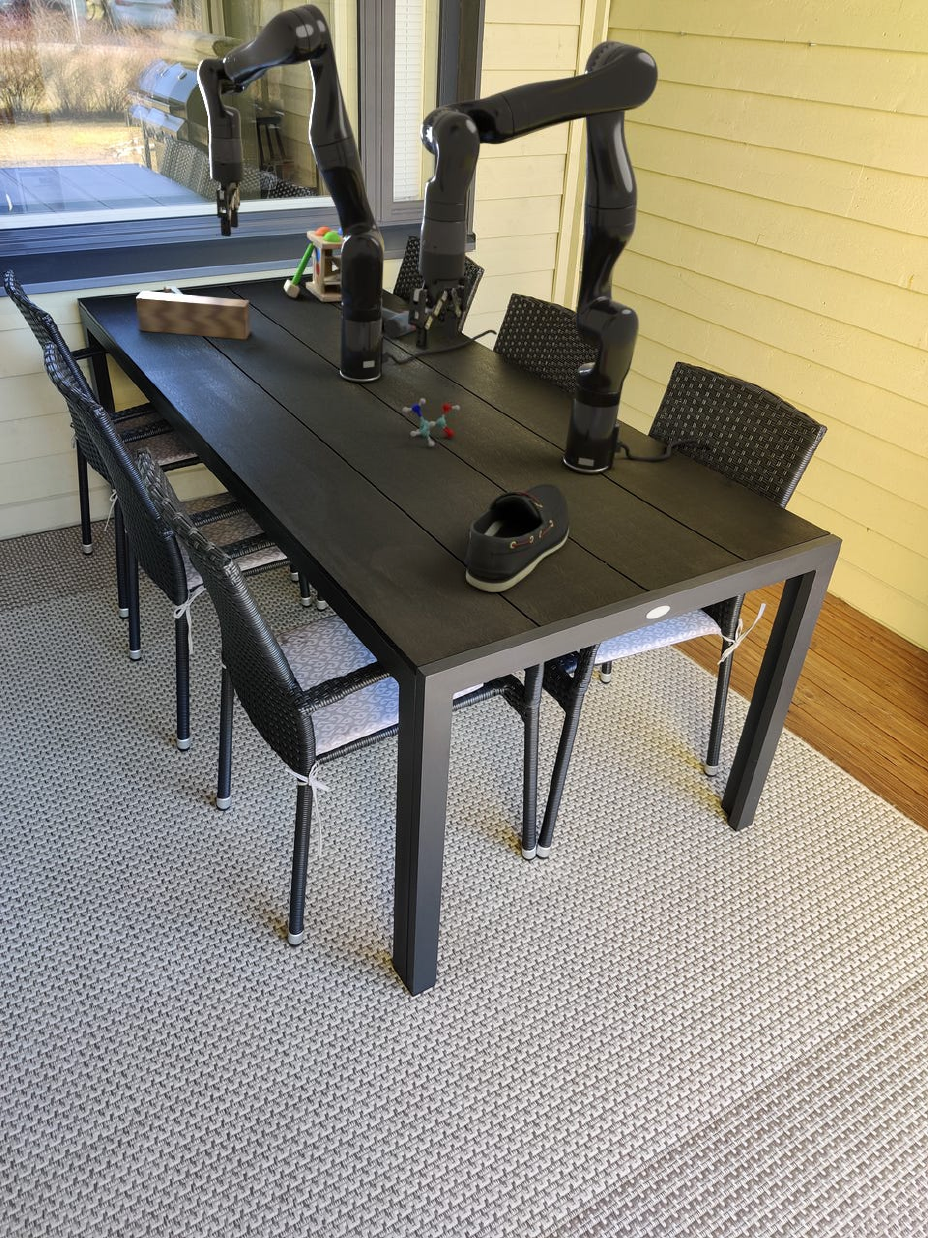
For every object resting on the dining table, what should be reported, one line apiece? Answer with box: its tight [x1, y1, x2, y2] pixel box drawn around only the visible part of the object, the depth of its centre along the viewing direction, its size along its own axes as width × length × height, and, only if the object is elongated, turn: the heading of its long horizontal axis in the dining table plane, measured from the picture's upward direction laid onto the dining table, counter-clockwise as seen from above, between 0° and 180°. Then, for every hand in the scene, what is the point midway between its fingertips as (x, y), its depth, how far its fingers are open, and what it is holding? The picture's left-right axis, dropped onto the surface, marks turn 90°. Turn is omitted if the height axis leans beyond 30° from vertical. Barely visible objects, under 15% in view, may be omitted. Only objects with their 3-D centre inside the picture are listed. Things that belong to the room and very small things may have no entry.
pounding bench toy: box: [283, 226, 343, 303], centre depth 277 cm, size 23×14×18 cm, turn 116°
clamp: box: [163, 285, 184, 295], centre depth 265 cm, size 15×2×10 cm
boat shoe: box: [464, 483, 570, 593], centre depth 168 cm, size 13×33×10 cm, turn 147°
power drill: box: [381, 306, 435, 339], centre depth 263 cm, size 5×19×20 cm
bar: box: [135, 290, 251, 340], centre depth 246 cm, size 26×6×8 cm, turn 90°
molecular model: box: [402, 398, 461, 448], centre depth 203 cm, size 12×10×10 cm
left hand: (230, 231), depth 234 cm, fingers open, 8 cm apart
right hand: (436, 343), depth 169 cm, fingers open, 8 cm apart
